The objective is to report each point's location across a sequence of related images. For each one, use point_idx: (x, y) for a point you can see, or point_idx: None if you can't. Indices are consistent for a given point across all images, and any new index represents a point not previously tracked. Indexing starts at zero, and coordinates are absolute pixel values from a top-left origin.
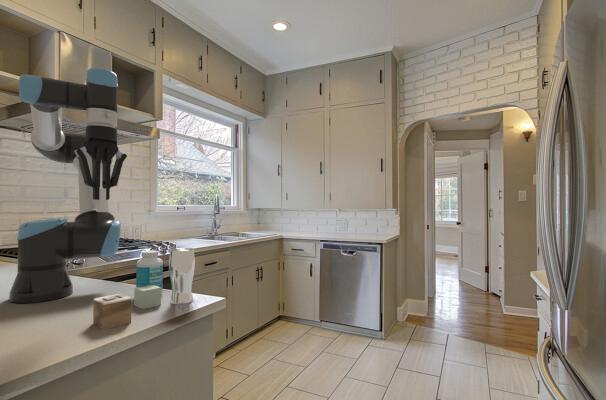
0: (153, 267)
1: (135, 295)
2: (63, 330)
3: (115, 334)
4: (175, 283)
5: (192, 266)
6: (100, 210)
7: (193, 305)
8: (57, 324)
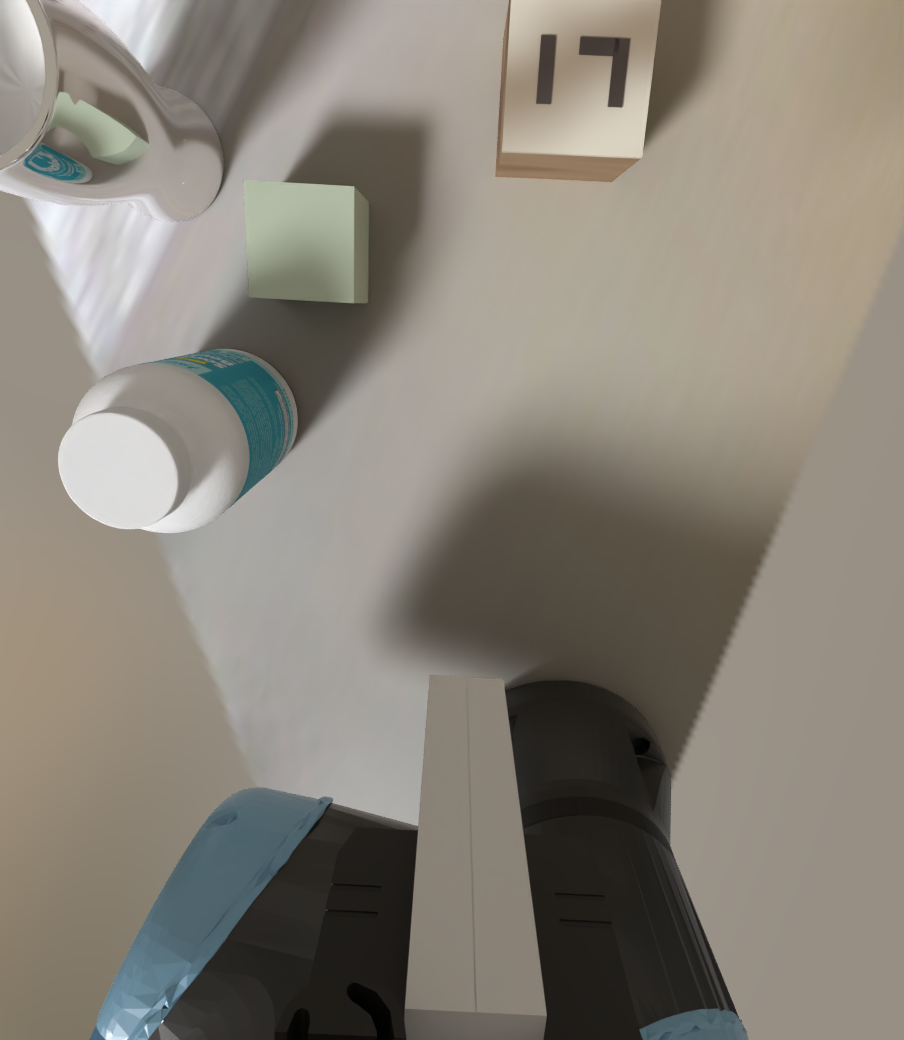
0: (177, 365)
1: (360, 288)
2: (719, 202)
3: None
4: (165, 103)
5: None
6: (499, 688)
7: (153, 25)
8: (695, 310)
